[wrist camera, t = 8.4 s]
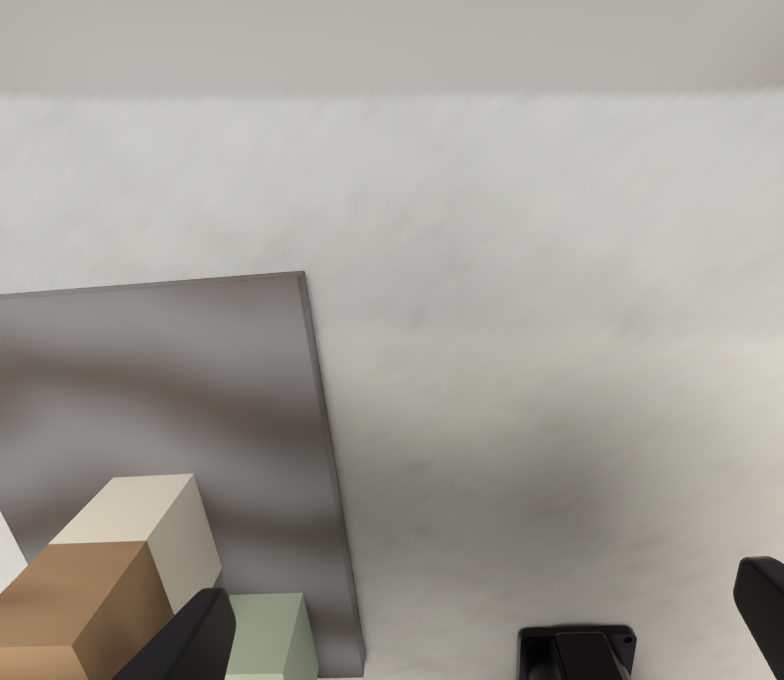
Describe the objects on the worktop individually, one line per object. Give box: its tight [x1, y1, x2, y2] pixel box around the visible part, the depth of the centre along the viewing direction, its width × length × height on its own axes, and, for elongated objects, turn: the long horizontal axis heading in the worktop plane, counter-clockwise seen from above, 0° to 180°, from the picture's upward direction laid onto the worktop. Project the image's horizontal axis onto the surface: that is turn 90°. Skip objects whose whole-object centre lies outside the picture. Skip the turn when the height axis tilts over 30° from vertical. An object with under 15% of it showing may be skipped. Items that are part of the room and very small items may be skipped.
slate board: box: [0, 271, 365, 678], centre depth 22 cm, size 24×17×1 cm
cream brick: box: [48, 474, 222, 615], centre depth 20 cm, size 6×4×4 cm, turn 5°
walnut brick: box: [0, 540, 174, 680], centre depth 16 cm, size 6×4×4 cm, turn 5°
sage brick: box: [225, 593, 319, 680], centre depth 22 cm, size 6×4×4 cm, turn 5°
